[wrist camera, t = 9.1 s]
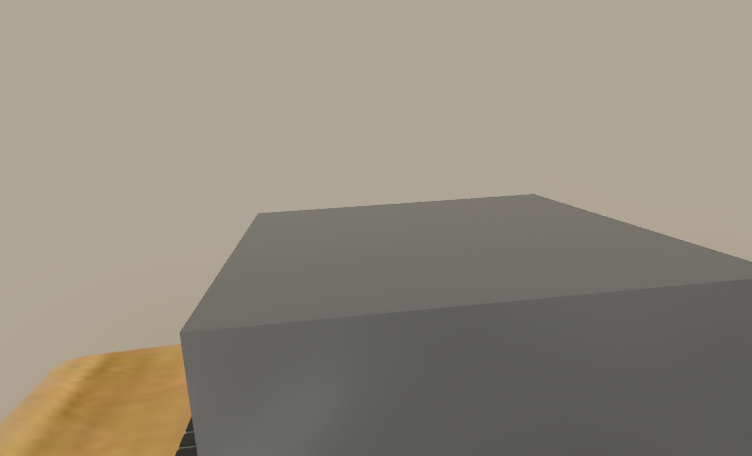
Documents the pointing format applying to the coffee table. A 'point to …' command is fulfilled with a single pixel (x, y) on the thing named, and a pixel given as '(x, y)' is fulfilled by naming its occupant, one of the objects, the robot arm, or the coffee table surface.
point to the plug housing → (470, 336)
